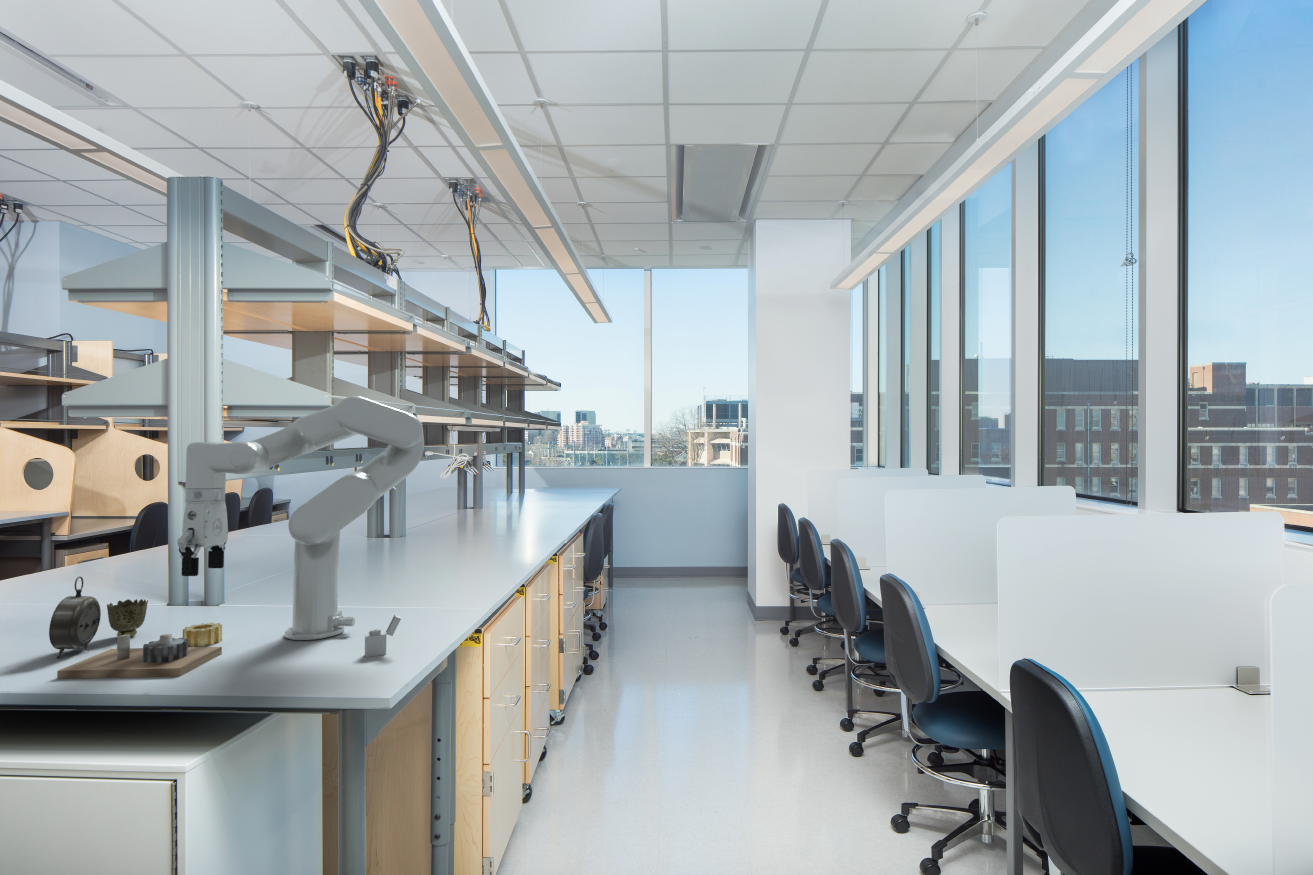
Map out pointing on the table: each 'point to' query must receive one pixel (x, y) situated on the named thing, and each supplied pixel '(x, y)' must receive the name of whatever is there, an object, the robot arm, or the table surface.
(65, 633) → the alarm clock
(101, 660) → the gear board
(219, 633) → the brass gear
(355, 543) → the table surface
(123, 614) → the cup
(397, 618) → the lighter
